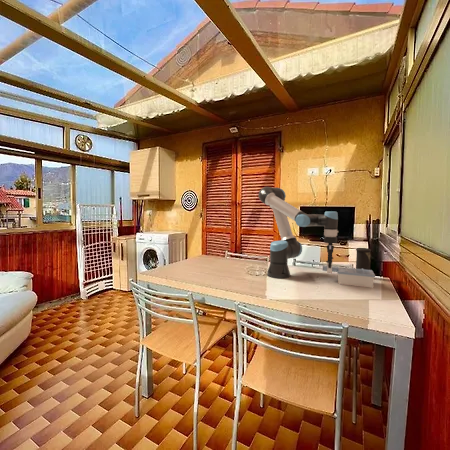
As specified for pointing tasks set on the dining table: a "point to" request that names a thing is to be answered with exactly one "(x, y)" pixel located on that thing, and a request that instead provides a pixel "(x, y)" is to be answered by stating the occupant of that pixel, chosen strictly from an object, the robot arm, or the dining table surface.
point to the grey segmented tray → (351, 271)
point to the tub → (355, 280)
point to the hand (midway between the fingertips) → (329, 271)
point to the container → (363, 258)
